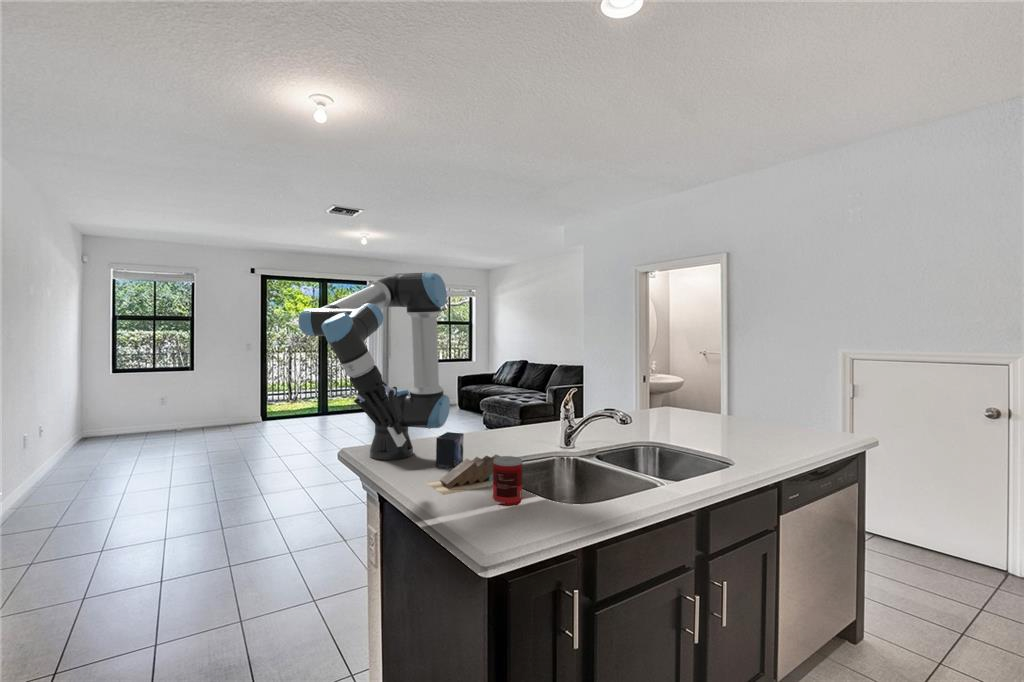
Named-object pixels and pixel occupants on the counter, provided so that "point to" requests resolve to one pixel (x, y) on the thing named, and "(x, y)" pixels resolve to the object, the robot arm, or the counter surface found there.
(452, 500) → the counter surface
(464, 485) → the board
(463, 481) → the domino
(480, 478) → the domino
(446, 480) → the domino
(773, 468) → the counter surface
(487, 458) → the domino
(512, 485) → the canned food
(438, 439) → the small box
